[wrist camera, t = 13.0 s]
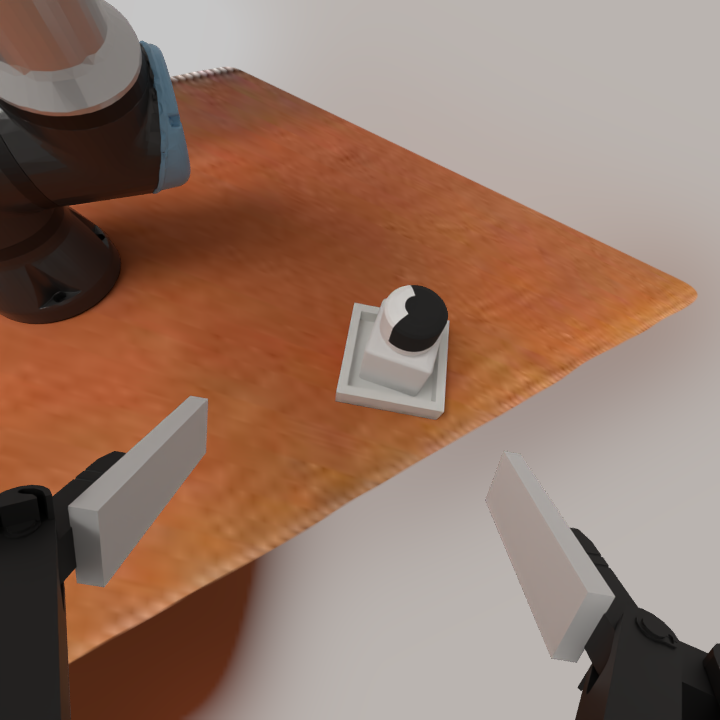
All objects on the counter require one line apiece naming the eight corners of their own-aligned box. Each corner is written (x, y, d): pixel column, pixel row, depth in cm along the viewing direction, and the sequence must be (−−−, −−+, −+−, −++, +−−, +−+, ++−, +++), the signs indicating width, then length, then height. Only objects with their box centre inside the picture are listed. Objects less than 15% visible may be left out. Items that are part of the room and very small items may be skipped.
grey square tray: (335, 401, 42) (336, 392, 39) (352, 315, 47) (354, 302, 45) (436, 419, 42) (443, 412, 40) (442, 332, 48) (449, 320, 45)
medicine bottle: (429, 347, 45) (462, 289, 35) (415, 398, 42) (447, 351, 31) (375, 329, 46) (391, 266, 35) (357, 378, 43) (369, 325, 32)
